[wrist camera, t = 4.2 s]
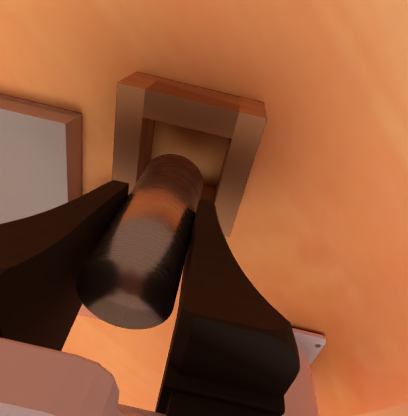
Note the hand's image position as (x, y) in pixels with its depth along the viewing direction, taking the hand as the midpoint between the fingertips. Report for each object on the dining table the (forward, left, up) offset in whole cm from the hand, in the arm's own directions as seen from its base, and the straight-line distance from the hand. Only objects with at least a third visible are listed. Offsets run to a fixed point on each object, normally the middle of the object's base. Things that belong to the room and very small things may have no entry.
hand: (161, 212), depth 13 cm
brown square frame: (0, 0, -7) cm, 7 cm away
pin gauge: (0, 0, -2) cm, 3 cm away
